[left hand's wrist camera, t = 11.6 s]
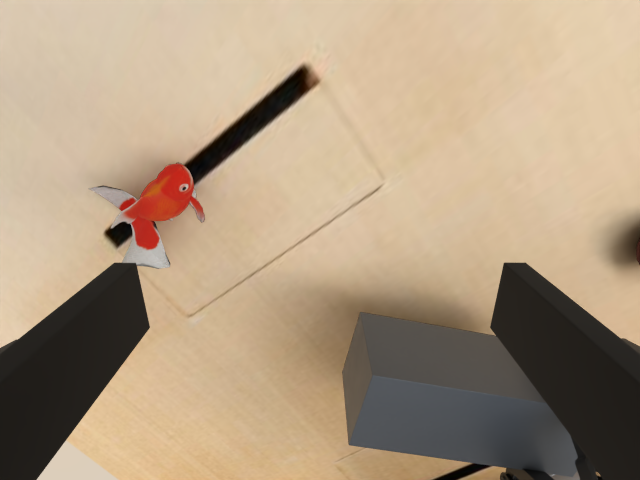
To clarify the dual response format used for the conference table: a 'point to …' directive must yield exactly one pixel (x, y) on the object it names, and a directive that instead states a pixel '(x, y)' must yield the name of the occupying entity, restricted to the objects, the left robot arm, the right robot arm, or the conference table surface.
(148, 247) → the fish
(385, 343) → the box
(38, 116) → the conference table surface
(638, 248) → the dark red ball
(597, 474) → the right robot arm
